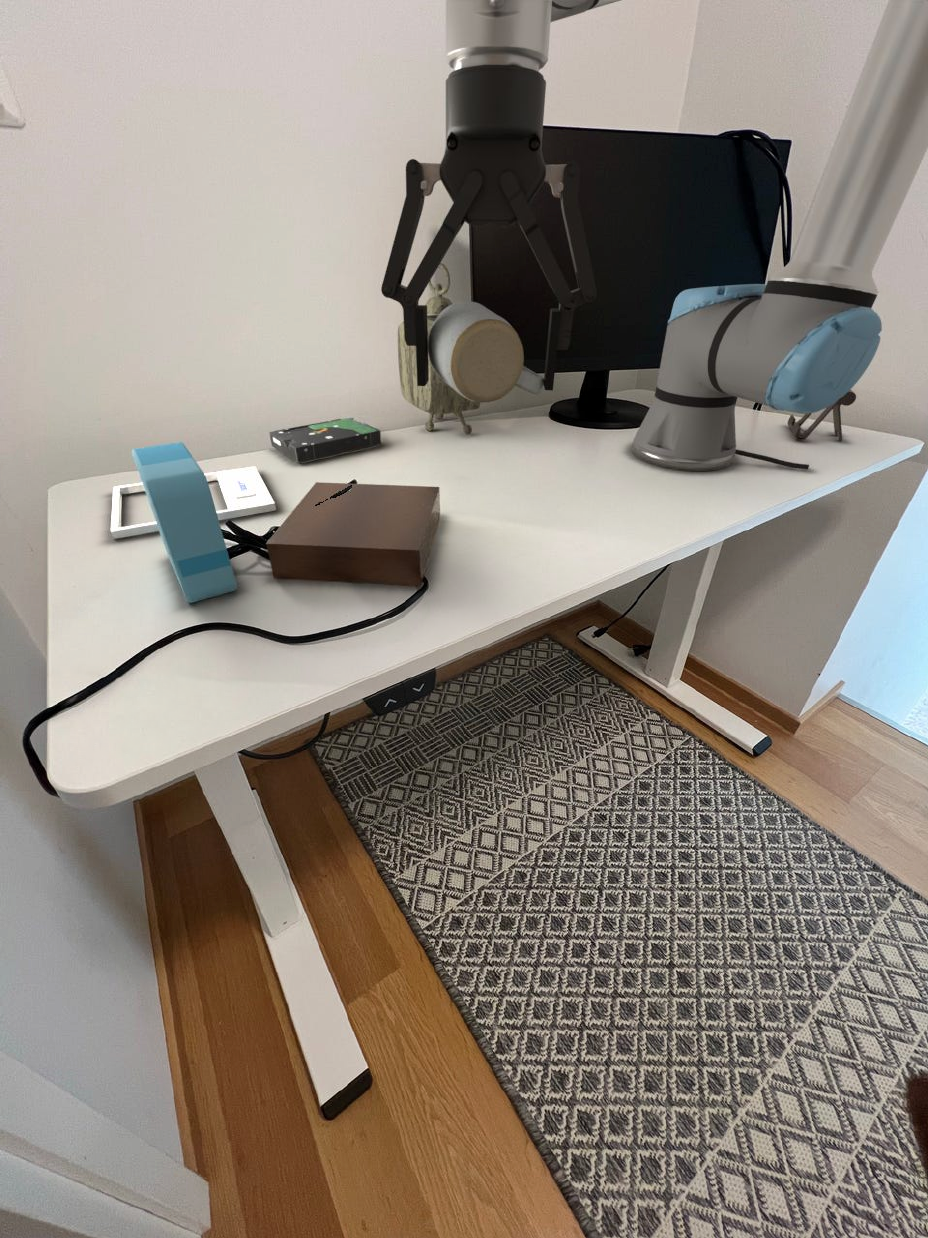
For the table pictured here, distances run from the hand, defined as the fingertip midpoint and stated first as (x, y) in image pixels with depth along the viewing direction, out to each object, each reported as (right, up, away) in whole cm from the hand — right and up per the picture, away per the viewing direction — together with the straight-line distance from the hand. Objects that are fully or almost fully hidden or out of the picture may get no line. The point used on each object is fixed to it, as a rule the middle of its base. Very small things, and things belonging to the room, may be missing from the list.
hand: (485, 385), depth 53 cm
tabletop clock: (-6, +11, +45) cm, 46 cm away
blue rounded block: (-29, -18, +3) cm, 34 cm away
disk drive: (-24, +5, +36) cm, 44 cm away
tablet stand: (+60, +9, +43) cm, 74 cm away
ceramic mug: (0, -1, +1) cm, 1 cm away
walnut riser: (-13, -14, +8) cm, 21 cm away
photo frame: (-37, -8, +17) cm, 42 cm away
